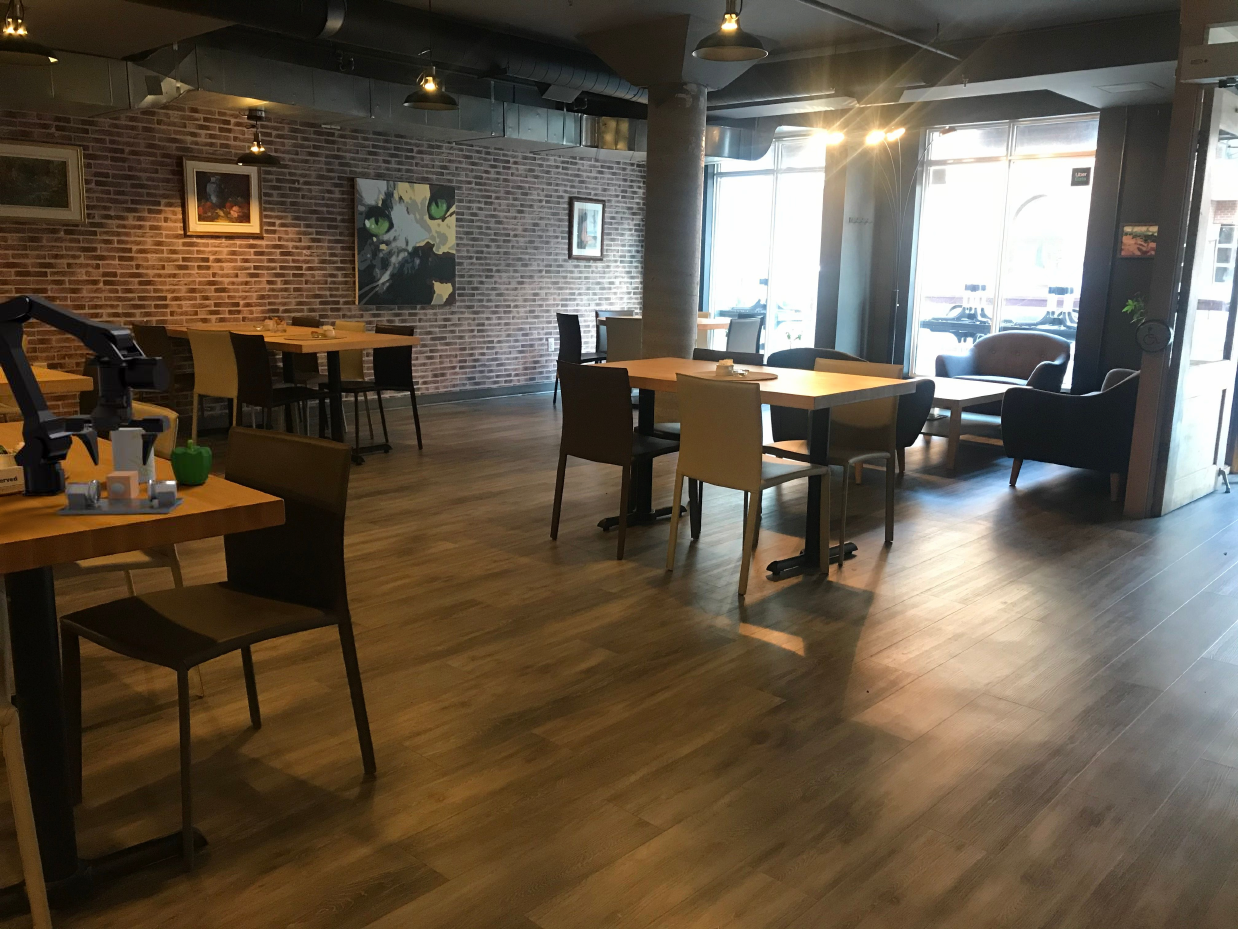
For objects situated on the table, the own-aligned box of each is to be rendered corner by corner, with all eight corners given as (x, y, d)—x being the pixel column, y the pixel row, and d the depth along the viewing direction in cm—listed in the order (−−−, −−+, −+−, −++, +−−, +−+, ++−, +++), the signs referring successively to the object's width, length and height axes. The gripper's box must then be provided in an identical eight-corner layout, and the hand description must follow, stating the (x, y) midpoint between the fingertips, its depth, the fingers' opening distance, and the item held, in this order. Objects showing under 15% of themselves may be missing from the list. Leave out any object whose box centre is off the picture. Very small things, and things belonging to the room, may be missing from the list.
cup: (139, 485, 211) (135, 430, 208) (106, 482, 212) (102, 428, 210) (163, 477, 219) (159, 425, 216) (131, 475, 220) (127, 423, 218)
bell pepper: (179, 479, 217) (176, 435, 215) (217, 479, 218) (215, 435, 216) (165, 487, 209) (162, 441, 207) (205, 487, 210) (202, 442, 208)
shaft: (148, 506, 189) (146, 481, 188) (150, 501, 193) (148, 477, 192) (176, 504, 191) (174, 480, 190) (177, 499, 195) (176, 475, 194)
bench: (57, 514, 184) (55, 485, 183) (77, 502, 193) (75, 474, 192) (169, 513, 187) (167, 484, 186) (183, 501, 197) (182, 474, 196)
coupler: (129, 501, 196) (128, 477, 195) (106, 501, 196) (104, 477, 195) (140, 493, 203) (139, 470, 202) (117, 493, 202) (116, 470, 202)
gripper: (48, 393, 186) (55, 473, 189) (152, 394, 189) (157, 473, 192) (71, 387, 197) (77, 462, 200) (169, 388, 200) (173, 462, 203)
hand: (120, 465), depth 198 cm, fingers open, 9 cm apart
